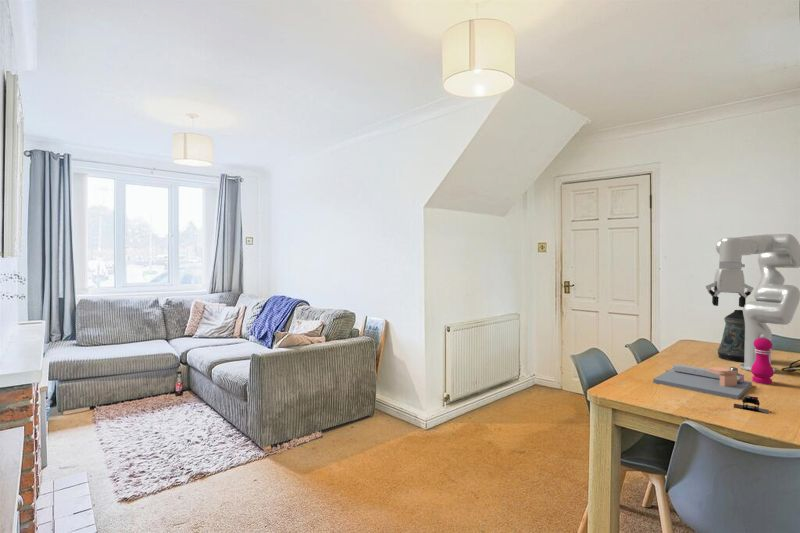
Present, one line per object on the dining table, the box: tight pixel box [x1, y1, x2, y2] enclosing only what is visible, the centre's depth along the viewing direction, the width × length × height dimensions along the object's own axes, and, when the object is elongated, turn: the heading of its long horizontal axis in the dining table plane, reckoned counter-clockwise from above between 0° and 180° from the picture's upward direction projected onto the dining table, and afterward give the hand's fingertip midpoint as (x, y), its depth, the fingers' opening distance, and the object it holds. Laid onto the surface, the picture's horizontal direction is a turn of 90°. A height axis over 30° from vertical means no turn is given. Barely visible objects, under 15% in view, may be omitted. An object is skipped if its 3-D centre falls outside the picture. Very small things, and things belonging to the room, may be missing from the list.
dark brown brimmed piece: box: [733, 394, 770, 415], centre depth 148 cm, size 12×7×5 cm, turn 49°
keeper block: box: [707, 366, 737, 386], centre depth 172 cm, size 6×7×7 cm
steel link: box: [672, 363, 745, 383], centre depth 181 cm, size 24×6×5 cm, turn 42°
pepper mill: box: [750, 334, 775, 385], centre depth 179 cm, size 7×7×20 cm
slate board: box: [652, 367, 753, 400], centre depth 176 cm, size 26×28×2 cm
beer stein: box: [717, 309, 745, 364], centre depth 219 cm, size 16×19×25 cm
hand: (728, 306), depth 184 cm, fingers open, 9 cm apart
